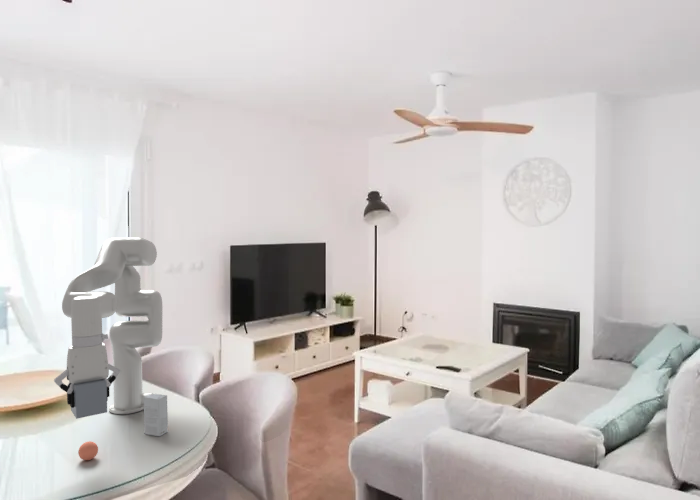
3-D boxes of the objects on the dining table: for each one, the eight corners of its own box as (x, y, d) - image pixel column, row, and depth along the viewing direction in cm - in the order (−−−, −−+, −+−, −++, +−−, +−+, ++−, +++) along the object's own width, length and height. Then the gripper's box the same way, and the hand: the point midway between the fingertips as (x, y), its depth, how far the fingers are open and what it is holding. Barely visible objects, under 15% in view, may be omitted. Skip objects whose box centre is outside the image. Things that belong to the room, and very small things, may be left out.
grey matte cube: (100, 404, 151) (100, 374, 150) (107, 412, 145) (106, 381, 144) (71, 410, 146) (70, 379, 145) (76, 418, 140) (75, 386, 139)
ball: (100, 453, 146) (98, 460, 149) (97, 436, 148) (95, 443, 152) (80, 458, 143) (78, 465, 146) (78, 440, 145) (76, 448, 149)
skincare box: (168, 431, 167) (167, 395, 166) (159, 437, 163) (158, 399, 162) (152, 429, 169) (152, 392, 168) (143, 434, 165) (143, 397, 164)
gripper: (117, 334, 152) (118, 393, 153) (49, 342, 142) (51, 406, 143) (124, 339, 146) (125, 400, 147) (53, 348, 136) (55, 414, 137)
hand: (88, 402), depth 145 cm, fingers closed on grey matte cube, 7 cm apart
